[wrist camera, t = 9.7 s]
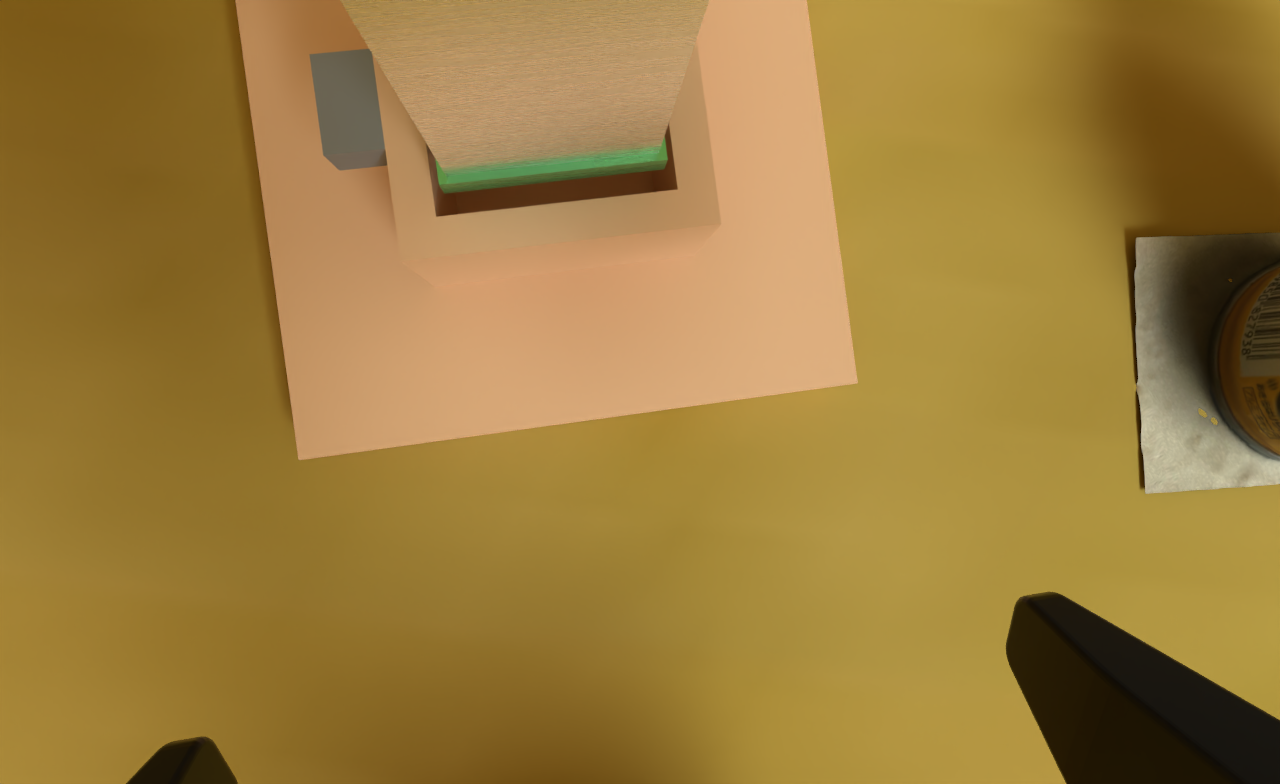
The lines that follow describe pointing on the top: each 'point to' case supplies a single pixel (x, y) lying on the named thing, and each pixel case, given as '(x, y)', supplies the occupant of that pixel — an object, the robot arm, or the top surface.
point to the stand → (542, 246)
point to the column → (534, 82)
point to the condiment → (1208, 360)
